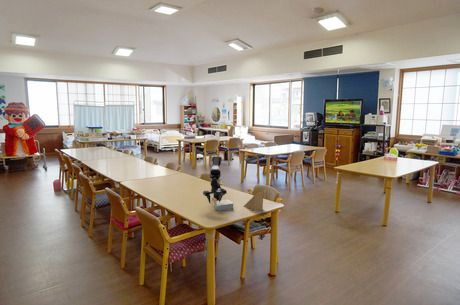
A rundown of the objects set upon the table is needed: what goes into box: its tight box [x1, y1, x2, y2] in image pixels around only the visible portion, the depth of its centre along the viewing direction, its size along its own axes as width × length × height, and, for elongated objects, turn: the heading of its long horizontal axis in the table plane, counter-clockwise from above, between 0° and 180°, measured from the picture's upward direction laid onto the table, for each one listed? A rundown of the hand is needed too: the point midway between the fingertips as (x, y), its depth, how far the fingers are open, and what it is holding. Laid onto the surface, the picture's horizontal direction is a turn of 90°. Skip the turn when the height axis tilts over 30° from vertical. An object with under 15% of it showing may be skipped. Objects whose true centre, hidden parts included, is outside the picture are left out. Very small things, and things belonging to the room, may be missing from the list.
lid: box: [211, 198, 235, 206], centre depth 251 cm, size 11×15×5 cm
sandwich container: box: [243, 191, 264, 212], centre depth 254 cm, size 9×15×15 cm, turn 38°
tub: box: [213, 204, 234, 212], centre depth 252 cm, size 10×13×4 cm
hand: (214, 202), depth 248 cm, fingers open, 8 cm apart
